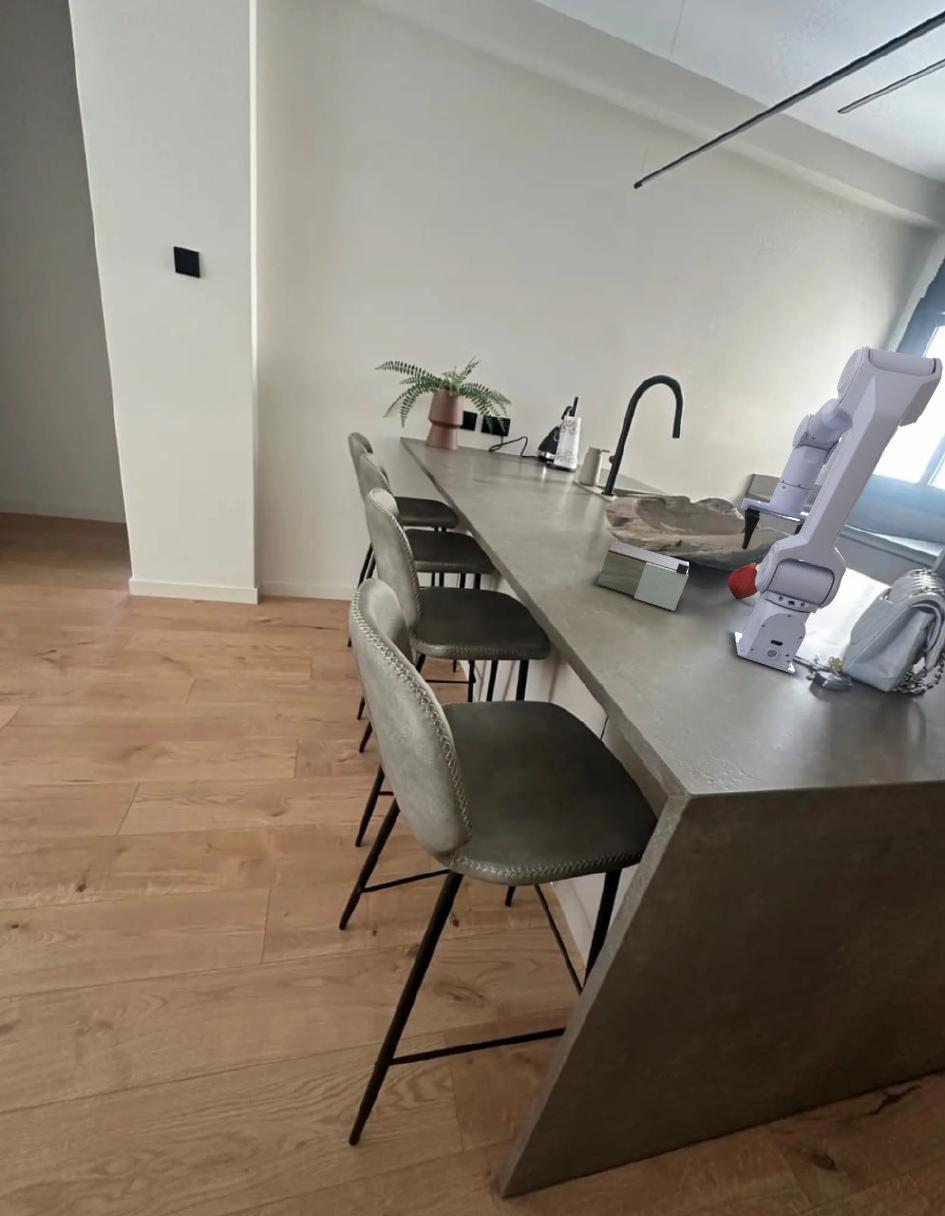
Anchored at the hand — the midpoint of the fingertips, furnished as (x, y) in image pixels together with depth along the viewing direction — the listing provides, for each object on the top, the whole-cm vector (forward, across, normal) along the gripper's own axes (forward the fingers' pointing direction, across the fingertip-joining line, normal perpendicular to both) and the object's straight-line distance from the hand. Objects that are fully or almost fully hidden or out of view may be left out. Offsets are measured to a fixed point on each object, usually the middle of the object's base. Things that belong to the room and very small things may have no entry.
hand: (764, 554), depth 103 cm
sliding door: (+10, +17, +21) cm, 29 cm away
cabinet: (+10, +20, +16) cm, 28 cm away
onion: (+10, +1, +1) cm, 10 cm away
